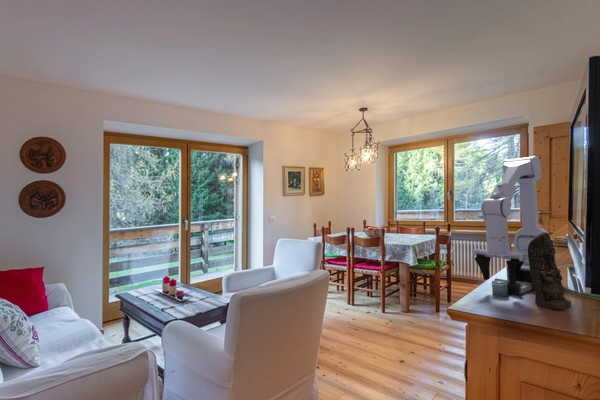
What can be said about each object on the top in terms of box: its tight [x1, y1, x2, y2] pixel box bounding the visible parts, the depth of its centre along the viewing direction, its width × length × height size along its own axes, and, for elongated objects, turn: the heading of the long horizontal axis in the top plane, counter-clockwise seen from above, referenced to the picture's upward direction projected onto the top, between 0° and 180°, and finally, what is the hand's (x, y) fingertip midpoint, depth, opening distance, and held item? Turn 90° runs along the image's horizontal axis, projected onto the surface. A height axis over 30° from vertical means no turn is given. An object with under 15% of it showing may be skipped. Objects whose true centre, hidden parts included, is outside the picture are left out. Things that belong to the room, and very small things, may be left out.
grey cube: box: [491, 280, 509, 298], centre depth 97 cm, size 4×4×4 cm
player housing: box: [506, 263, 532, 283], centre depth 105 cm, size 9×9×6 cm
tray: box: [494, 277, 535, 295], centre depth 101 cm, size 11×7×4 cm, turn 121°
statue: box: [528, 232, 572, 311], centre depth 86 cm, size 7×7×20 cm
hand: (499, 281), depth 97 cm, fingers open, 7 cm apart
